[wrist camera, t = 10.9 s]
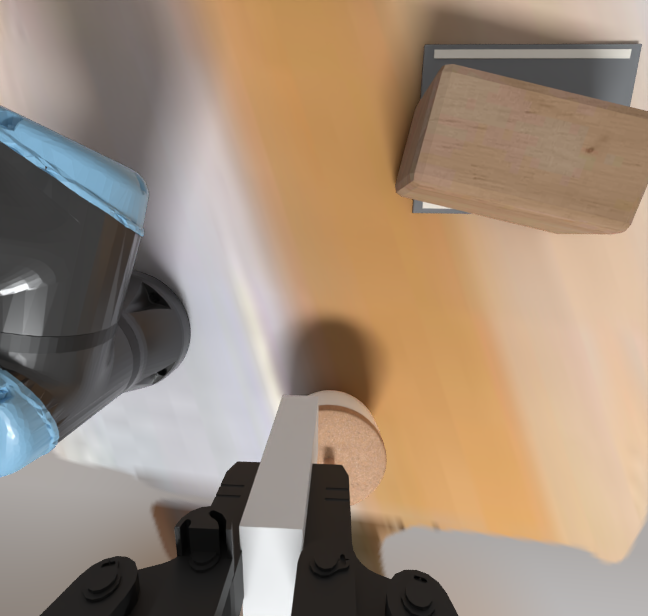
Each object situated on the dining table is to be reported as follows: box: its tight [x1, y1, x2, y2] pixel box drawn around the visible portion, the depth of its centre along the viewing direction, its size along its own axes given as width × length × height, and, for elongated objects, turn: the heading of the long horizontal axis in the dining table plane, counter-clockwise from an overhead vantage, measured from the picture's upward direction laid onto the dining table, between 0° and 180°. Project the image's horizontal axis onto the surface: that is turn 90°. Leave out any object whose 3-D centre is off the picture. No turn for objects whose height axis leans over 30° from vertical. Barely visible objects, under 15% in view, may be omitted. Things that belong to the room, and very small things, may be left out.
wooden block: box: [395, 64, 648, 234], centre depth 34 cm, size 10×10×20 cm
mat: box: [412, 44, 642, 214], centre depth 38 cm, size 22×17×1 cm
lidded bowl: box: [308, 390, 386, 506], centre depth 42 cm, size 13×13×11 cm
